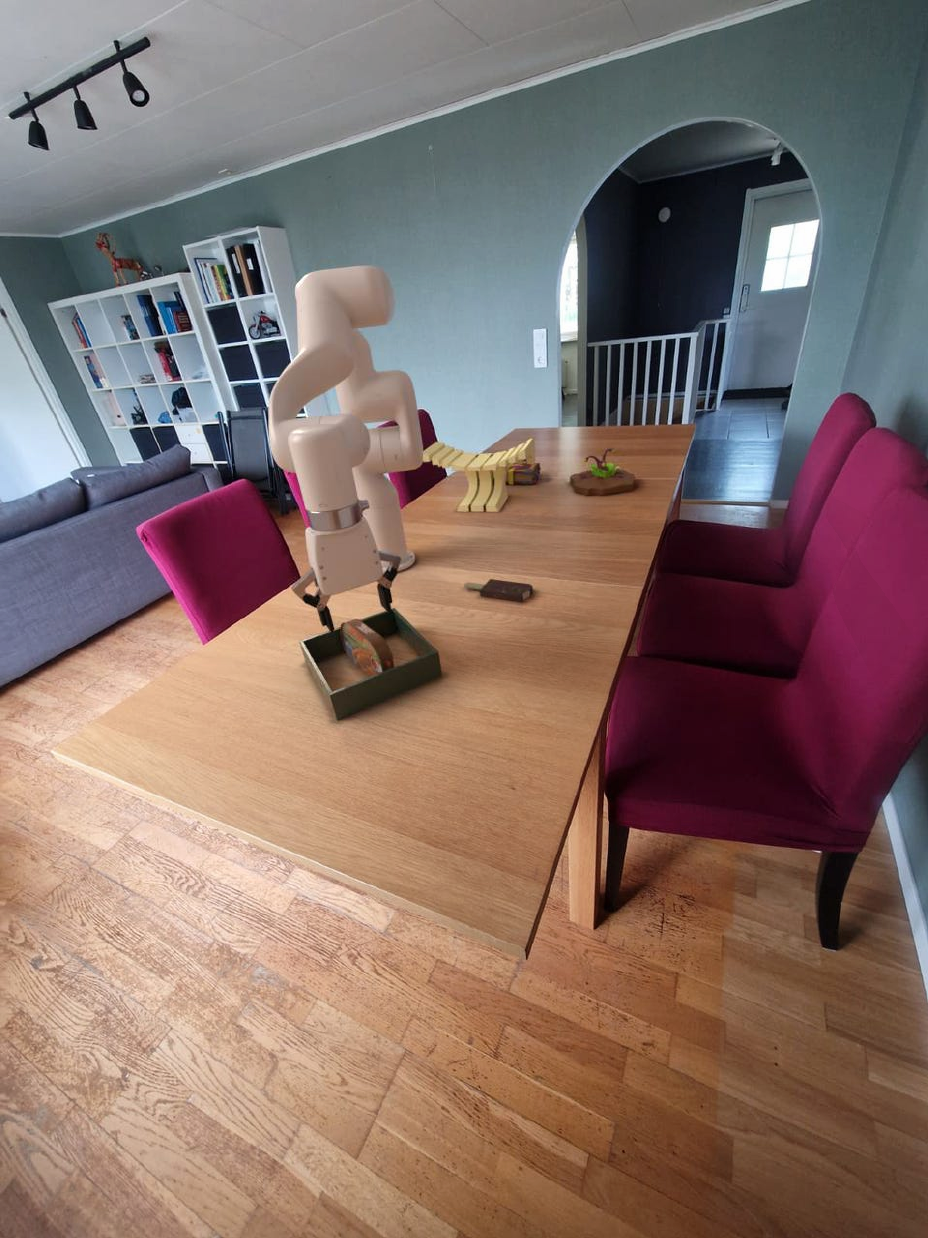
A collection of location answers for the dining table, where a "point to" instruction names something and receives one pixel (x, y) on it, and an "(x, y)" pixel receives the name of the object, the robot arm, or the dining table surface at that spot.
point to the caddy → (381, 683)
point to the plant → (603, 478)
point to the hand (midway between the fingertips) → (358, 617)
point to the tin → (366, 648)
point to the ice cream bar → (503, 590)
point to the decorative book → (523, 473)
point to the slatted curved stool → (481, 472)
